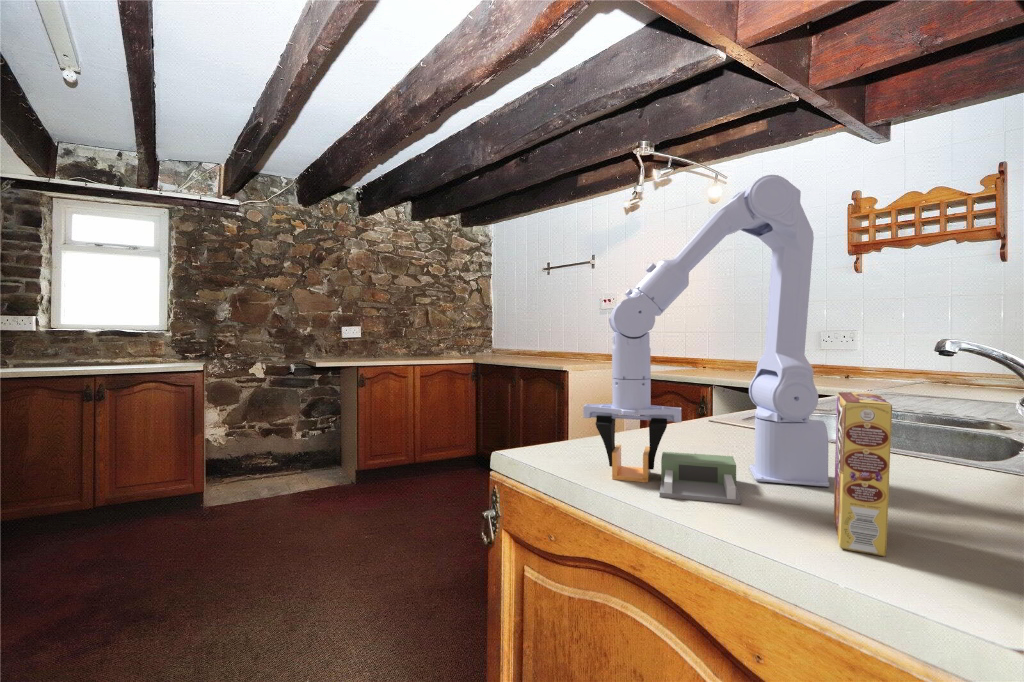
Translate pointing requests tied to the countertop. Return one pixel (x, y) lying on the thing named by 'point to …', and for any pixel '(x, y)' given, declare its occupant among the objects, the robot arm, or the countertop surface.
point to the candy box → (862, 472)
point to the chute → (630, 472)
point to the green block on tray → (699, 477)
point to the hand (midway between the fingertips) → (631, 466)
